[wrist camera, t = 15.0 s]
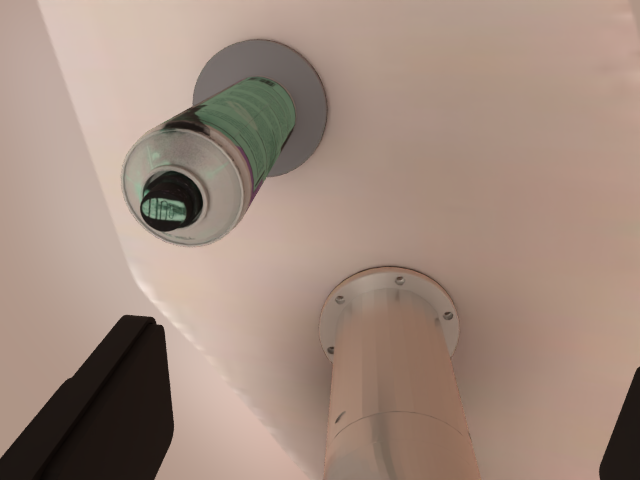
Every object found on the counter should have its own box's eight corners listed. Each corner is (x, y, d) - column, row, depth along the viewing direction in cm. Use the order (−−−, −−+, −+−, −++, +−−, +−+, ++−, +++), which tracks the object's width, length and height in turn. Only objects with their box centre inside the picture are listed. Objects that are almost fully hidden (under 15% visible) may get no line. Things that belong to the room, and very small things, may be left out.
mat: (318, 179, 40) (317, 185, 39) (197, 162, 40) (191, 168, 39) (335, 49, 36) (334, 50, 34) (199, 30, 36) (193, 31, 35)
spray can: (212, 90, 36) (61, 168, 18) (280, 63, 35) (192, 117, 17) (242, 159, 38) (133, 291, 20) (307, 136, 37) (255, 253, 19)
